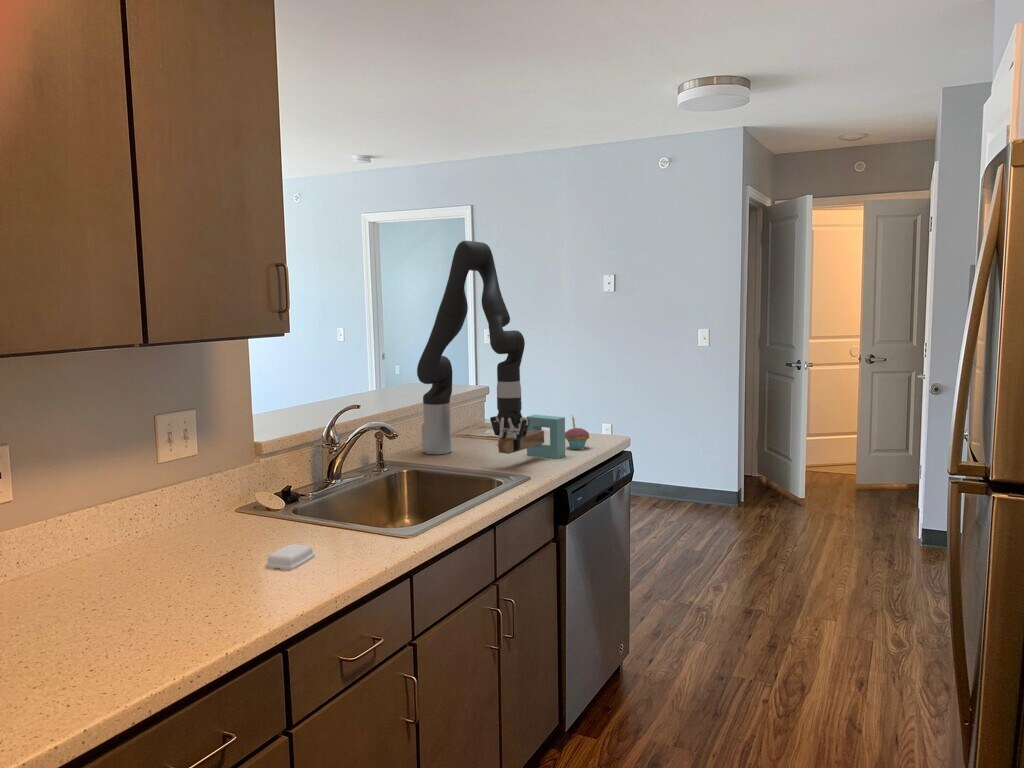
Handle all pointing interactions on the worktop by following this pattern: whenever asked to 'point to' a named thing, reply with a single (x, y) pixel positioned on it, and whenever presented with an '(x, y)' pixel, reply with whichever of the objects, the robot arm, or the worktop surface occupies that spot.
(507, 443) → the brown rectangular block
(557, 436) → the light blue hollow block
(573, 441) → the cupcake
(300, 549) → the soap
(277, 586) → the worktop surface
